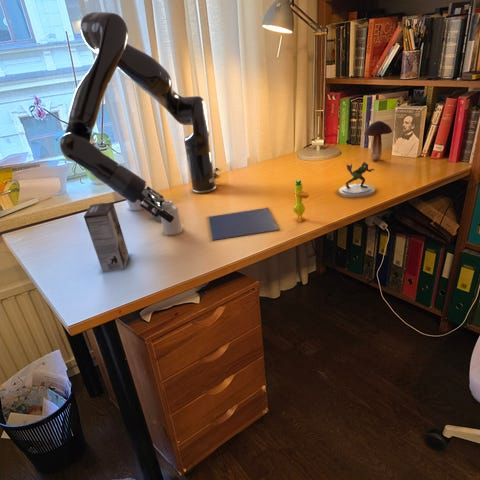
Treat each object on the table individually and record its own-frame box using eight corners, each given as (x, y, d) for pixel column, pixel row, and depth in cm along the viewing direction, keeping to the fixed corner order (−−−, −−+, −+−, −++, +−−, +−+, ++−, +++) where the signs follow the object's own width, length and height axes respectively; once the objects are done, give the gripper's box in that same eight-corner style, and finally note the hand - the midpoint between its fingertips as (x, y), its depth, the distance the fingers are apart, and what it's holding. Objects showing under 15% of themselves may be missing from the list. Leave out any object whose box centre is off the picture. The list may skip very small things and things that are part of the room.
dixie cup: (153, 205, 156) (146, 179, 150) (135, 213, 151) (127, 185, 146) (140, 202, 161) (133, 176, 155) (122, 209, 156) (115, 183, 151)
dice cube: (164, 213, 147) (161, 200, 144) (172, 216, 144) (169, 202, 141) (152, 218, 144) (149, 204, 141) (160, 221, 141) (157, 206, 138)
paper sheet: (209, 217, 139) (208, 216, 139) (267, 208, 139) (267, 207, 139) (212, 240, 122) (212, 239, 122) (279, 230, 123) (279, 229, 123)
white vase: (164, 229, 134) (158, 201, 129) (182, 227, 134) (176, 198, 129) (164, 236, 129) (157, 206, 124) (182, 233, 129) (176, 204, 124)
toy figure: (312, 221, 126) (312, 181, 119) (303, 224, 124) (302, 184, 117) (299, 216, 131) (297, 177, 124) (290, 219, 129) (288, 180, 122)
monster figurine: (360, 199, 136) (362, 167, 130) (331, 194, 144) (332, 163, 138) (381, 189, 142) (384, 158, 136) (352, 184, 150) (353, 155, 144)
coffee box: (107, 258, 120) (90, 204, 111) (129, 255, 120) (113, 201, 111) (101, 272, 112) (82, 216, 103) (125, 269, 112) (107, 212, 103)
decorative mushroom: (363, 164, 170) (365, 124, 161) (361, 157, 178) (363, 119, 170) (391, 162, 167) (394, 122, 159) (387, 155, 176) (391, 117, 168)
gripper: (130, 179, 115) (179, 213, 121) (135, 167, 126) (179, 198, 133) (117, 201, 117) (165, 232, 124) (122, 187, 129) (166, 216, 136)
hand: (172, 215), depth 129 cm, fingers open, 8 cm apart
